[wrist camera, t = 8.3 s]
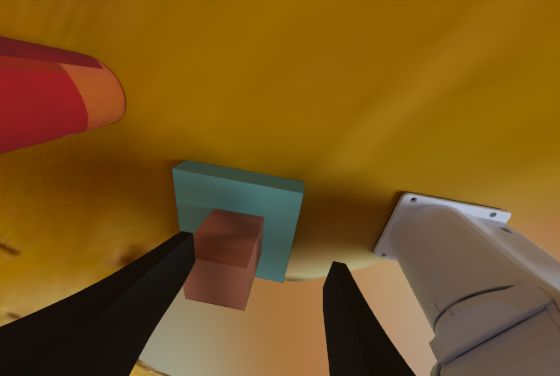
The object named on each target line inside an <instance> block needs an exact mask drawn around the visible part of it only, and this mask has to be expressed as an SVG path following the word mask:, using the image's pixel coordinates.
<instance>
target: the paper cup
mask: <svg viewBox="0 0 560 376" xmlns="http://www.w3.org/2000/svg"><path fill="white" fill-rule="evenodd" d="M125 108H126V99H125V94H124V91H123V88H122V86H121V84H120V82H119V80H118V79H117V77H116V76H115V75H114V73H113V72H112V71H111V70H110V69H109V68H108V67H107V66H106V65H105V64H104V63H102V62H101V61H99V60H97V59H95V58H93V57H91V56H87V55H84V54H80V53H76V52H71V51H67V50H62V49H58V48H53V47H48V46H44V45H39V44H34V43H29V42H25V41H20V40H15V39H10V38H5V37H1V36H0V154H2V153H6V152H10V151H14V150H17V149H21V148H25V147H29V146H32V145H36V144H40V143H43V142H47V141H51V140H55V139H58V138H62V137H66V136H69V135H73V134H77V133H80V132H84V131H88V130H91V129H95V128H98V127H102V126H105V125H108V124H111V123H114V122H116V121H118V120H120V119H121V118H122V116H123V115H124V112H125Z"/></svg>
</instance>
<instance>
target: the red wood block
mask: <svg viewBox="0 0 560 376" xmlns="http://www.w3.org/2000/svg"><path fill="white" fill-rule="evenodd" d="M263 228H264V217H261V216H255V215H249V214H244V213H238V212H232V211H227V210H221V209H215V208H214V209H213V210H212V211H211V213H210V214H209V215H208V217H207V218H206V219H205V220H204V222H203V223H202V224H201V226H200V227H199V228H198V229H197V231H196V232H195V233H194V235H193V237H194V248H195V260H196V261H195V263H194V266H193V268H192V270H191V272H190V274H189V276H188V278H187V279H186V281H185V283H184V284H183V287H184V293H185V298H186V299H190V300H195V301H199V302H204V303H209V304H214V305H219V306H224V307H229V308H233V309H238V310H243V311H245V308H246V305H247V301H248V298H249V294H250V291H251V287H252V284H253V281H254V277H255V274H256V270H257V267H258V263H259V260H260V256H261V249H262V238H263Z"/></svg>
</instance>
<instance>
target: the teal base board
mask: <svg viewBox="0 0 560 376" xmlns="http://www.w3.org/2000/svg"><path fill="white" fill-rule="evenodd" d="M172 174H173V181H174V189H175V197H176V205H177V213H178V221H179V229H180V232H181V231H185V232H190V233H193V235H194V233H195V232H196V231H197V229H198V228H199V227H200V226H201V224H202V223H203V222H204V220H205V219H206V218H207V217H208V215H209V214H210V213H211V211H212V210H213V209H214V208H215V209H221V210H227V211H232V212H238V213H244V214H249V215H255V216H261V217H264V228H263V238H262V249H261V256H260V260H259V263H258V267H257V270H256V274H255V277H258V278H263V279H267V280H272V281H276V282H282V283H283V282H284V278H285V273H286V269H287V264H288V260H289V256H290V251H291V247H292V243H293V238H294V234H295V230H296V225H297V221H298V217H299V212H300V208H301V204H302V199H303V195H304V182H303V181H298V180H292V179H287V178H281V177H276V176H271V175H265V174H260V173H254V172H249V171H244V170H238V169H233V168H227V167H222V166H217V165H211V164H206V163H200V162H195V161H190V160H186V161H184V162H182V163H181V164H179V165H177V166H176V167H174V168H172Z"/></svg>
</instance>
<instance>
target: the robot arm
mask: <svg viewBox="0 0 560 376" xmlns="http://www.w3.org/2000/svg"><path fill="white" fill-rule="evenodd" d="M412 198H415V199H414V200H411V199H412ZM491 213H492V214H491ZM510 217H511V214H510V213H509V212H508V211H506V210H501V209H495V208H490V207H484V206H479V205H474V204H468V203H463V202H457V201H452V200H446V199H441V198H436V197H430V196H425V195H419V194H414V193H404V194H402V196H401V197H400V199H399V201H398V203H397V205H396V207H395V209H394V211H393V213H392V215H391V217H390V219H389V221H388V223H387V225H386V227H385V229H384V231H383V233H382V235H381V237H380V239H379V241H378V243H377V245H376V247H375V249H374V251H373V252H374V255H375V256H377V257H381V258H386V259H391V260H396V261H398V263H399V265H400V267H401V269H402V270H403V272H404V274H405V276H406V278H407V280H408V282H409V284H410V286H411V288H412V290H413V292H414V294H415V296H416V298H417V300H418V302H419V304H420V306H421V308H422V310H423V312H424V314H425V316H426V318H427V320H428V322H429V324H430V326H431V327H432V330H433V332H434V333H435V337H434V339H433V340H432V341H430V342H429V344H430V347H431V349H432V351H433V353H434V355H435V357H436V359H437V363H436V364H435V365H434V366H433V368H432V370H431V373H430V376H560V261H559V260H558V259H556V258H555V257H553V256H552V255H550V254H549V253H547V252H546V251H545V250H543V249H542V248H540V247H539V246H537V245H536V244H535V243H533V242H532V241H530V240H529V239H527V238H526V237H524V236H523V235H522V234H520V233H519V232H517V231H516V230H514V229H513V228H512V227H510V226H509V225H507V224H506V222H507V221H508V220H509V218H510ZM382 253H384V254H382ZM195 261H196V260H195V248H194V237H193V233H190V232H185V231H181V232H179V233H178V234H176V235H175V236H173V237H171V238H170V239H168V240H167V241H165V242H164V243H162V244H161V245H159V246H158V247H156V248H155V249H153V250H151V251H150V252H148V253H147V254H145V255H143V256H142V257H140V258H139V259H137V260H136V261H134V262H132V263H130V264H129V265H127V266H125V267H124V268H122V269H120V270H119V271H117V272H115V273H113V274H112V275H110V276H108V277H106V278H104V279H103V280H101V281H99V282H97V283H95V284H93V285H91V286H89V287H87V288H85V289H83V290H81V291H79V292H77V293H75V294H73V295H71V296H69V297H67V298H65V299H63V300H60V301H58V302H56V303H54V304H52V305H50V306H47V307H45V308H43V309H41V310H39V311H37V312H34V313H32V314H30V315H27V316H25V317H23V318H20V319H18V320H16V321H13V322H11V323H9V324H6V325H4V326H1V327H0V376H129V375H130V373H131V371H132V369H133V367H134V365H135V363H136V361H137V360H138V358H139V356H140V354H141V352H142V350H143V349H144V347H145V345H146V343H147V341H148V339H149V338H150V336H151V334H152V333H153V331H154V329H155V328H156V326H157V324H158V323H159V321H160V320H161V318H162V317H163V315H164V314H165V312H166V311H167V309H168V307H169V306H170V304H171V303H172V301H173V300H174V298H175V297H176V295H177V294H178V292H179V291H180V289H181V287H182V286H183V284H184V283H185V281H186V279H187V278H188V276H189V274H190V272H191V270H192V268H193V266H194V263H195ZM323 314H324V324H325V333H326V343H327V352H328V361H329V372H330V376H416V375H415V374H414V372H413V371H412V370H411V368H410V367H409V366H408V365H407V363H406V362H405V360H404V359H403V358H402V356H401V355H400V354H399V352H398V350H397V349H396V348H395V346H394V345H393V343H392V342H391V340H390V339H389V337H388V336H387V334H386V333H385V331H384V330H383V328H382V327H381V325H380V323H379V322H378V320H377V319H376V317H375V315H374V314H373V312H372V310H371V309H370V307H369V305H368V304H367V302H366V300H365V298H364V297H363V295H362V293H361V291H360V290H359V288H358V286H357V284H356V282H355V280H354V279H353V277H352V275H351V273H350V271H349V269H348V267H347V265H346V264H344V263H339V262H334V261H333V263H332V265H331V268H330V271H329V273H328V276H327V278H326V281H325V284H324V286H323Z"/></svg>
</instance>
